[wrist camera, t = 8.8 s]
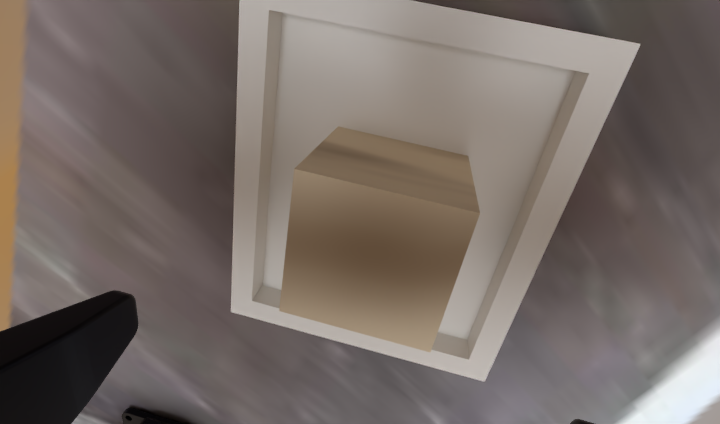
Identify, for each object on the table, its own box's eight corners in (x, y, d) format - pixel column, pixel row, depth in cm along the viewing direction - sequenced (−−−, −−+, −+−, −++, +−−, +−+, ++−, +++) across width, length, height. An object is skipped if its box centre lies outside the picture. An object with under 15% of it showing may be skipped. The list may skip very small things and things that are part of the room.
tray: (480, 348, 19) (484, 381, 17) (249, 286, 20) (230, 311, 18) (613, 41, 13) (641, 44, 11) (266, -25, 14) (240, -33, 12)
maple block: (433, 265, 17) (430, 352, 12) (321, 237, 17) (279, 311, 13) (468, 155, 14) (479, 213, 10) (337, 126, 15) (294, 168, 10)
